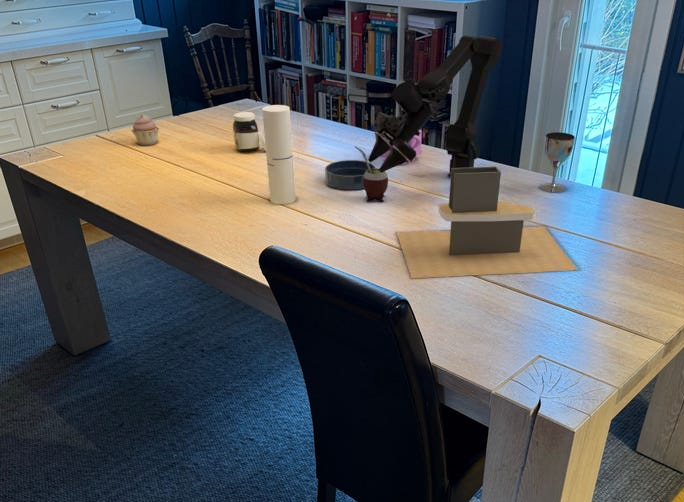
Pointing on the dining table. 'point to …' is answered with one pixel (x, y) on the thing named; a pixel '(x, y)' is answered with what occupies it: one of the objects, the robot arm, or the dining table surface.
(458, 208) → the architectural model
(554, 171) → the metal goblet
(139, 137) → the cupcake
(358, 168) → the large metal bowl
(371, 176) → the mate gourd
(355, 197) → the dining table surface
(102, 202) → the dining table surface
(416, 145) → the teapot
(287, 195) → the cylindrical container
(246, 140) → the spread jar
